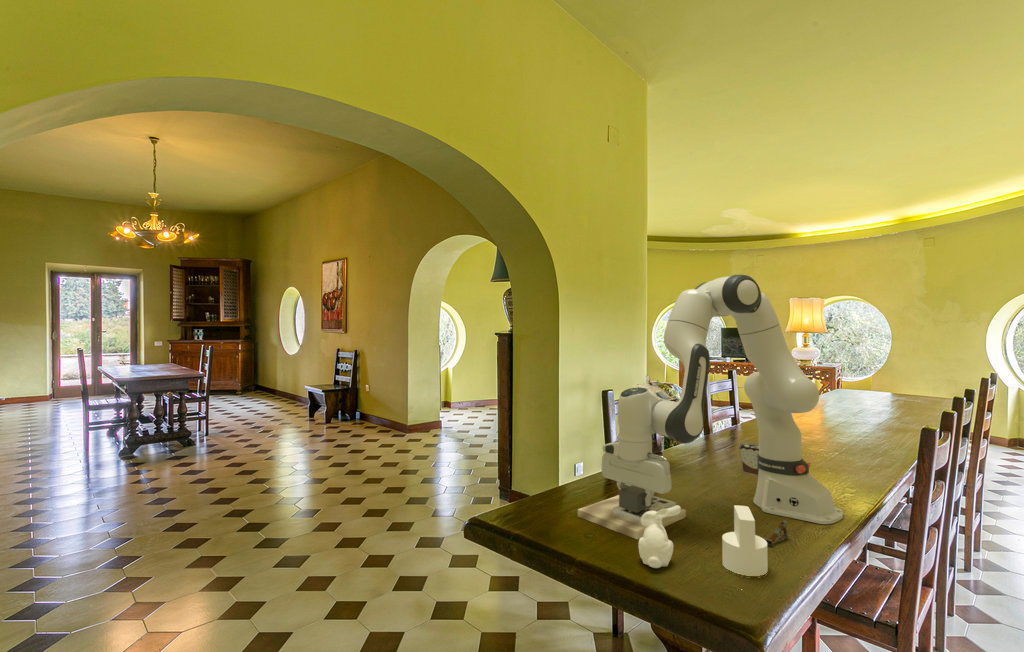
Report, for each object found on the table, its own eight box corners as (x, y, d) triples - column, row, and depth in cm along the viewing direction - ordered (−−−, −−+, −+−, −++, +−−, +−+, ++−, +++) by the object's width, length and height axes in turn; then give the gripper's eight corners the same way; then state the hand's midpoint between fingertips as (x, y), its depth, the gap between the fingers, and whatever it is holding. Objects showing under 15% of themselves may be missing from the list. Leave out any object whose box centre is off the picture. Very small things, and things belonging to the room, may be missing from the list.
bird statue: (688, 471, 182) (687, 374, 182) (665, 477, 174) (664, 377, 174) (651, 461, 195) (651, 371, 195) (628, 467, 188) (627, 373, 188)
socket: (676, 511, 137) (676, 502, 137) (641, 527, 127) (640, 517, 127) (648, 503, 144) (648, 494, 144) (612, 516, 134) (612, 507, 134)
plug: (656, 512, 135) (656, 487, 135) (636, 520, 129) (636, 495, 129) (639, 506, 139) (639, 482, 139) (619, 514, 133) (619, 489, 133)
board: (685, 517, 139) (685, 510, 139) (637, 539, 125) (637, 531, 125) (626, 498, 154) (626, 492, 154) (577, 516, 140) (577, 509, 140)
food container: (781, 476, 175) (781, 447, 175) (772, 479, 171) (772, 450, 171) (748, 468, 185) (747, 441, 185) (738, 471, 182) (738, 443, 182)
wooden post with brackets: (793, 535, 124) (788, 519, 123) (775, 556, 120) (771, 540, 119) (785, 532, 126) (781, 517, 125) (768, 553, 122) (763, 537, 121)
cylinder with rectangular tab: (720, 555, 116) (719, 503, 116) (763, 560, 113) (762, 507, 113) (724, 574, 107) (724, 518, 107) (771, 580, 104) (771, 522, 104)
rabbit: (639, 547, 120) (639, 497, 120) (680, 552, 118) (680, 500, 118) (637, 571, 109) (636, 515, 109) (682, 577, 106) (682, 520, 106)
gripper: (676, 455, 127) (676, 509, 127) (612, 441, 143) (613, 489, 143) (661, 459, 123) (662, 515, 123) (597, 444, 139) (598, 494, 139)
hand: (635, 501), depth 133 cm, fingers closed on plug, 6 cm apart
